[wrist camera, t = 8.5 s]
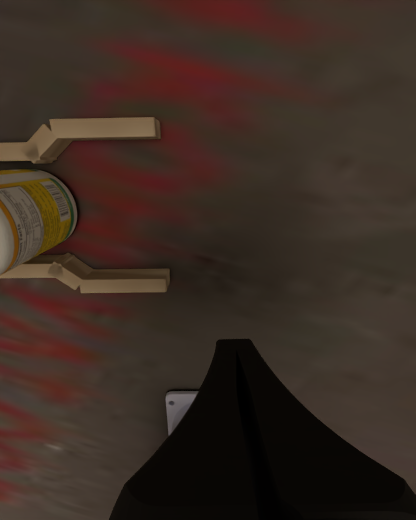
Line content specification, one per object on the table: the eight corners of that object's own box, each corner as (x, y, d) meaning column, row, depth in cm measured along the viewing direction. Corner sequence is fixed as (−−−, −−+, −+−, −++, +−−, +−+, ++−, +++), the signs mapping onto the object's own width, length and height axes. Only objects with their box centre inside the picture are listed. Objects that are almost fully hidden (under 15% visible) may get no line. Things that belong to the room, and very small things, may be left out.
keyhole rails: (170, 280, 21) (166, 292, 20) (-30, 283, 22) (-53, 294, 20) (159, 122, 18) (153, 117, 16) (-81, 126, 18) (-115, 122, 16)
